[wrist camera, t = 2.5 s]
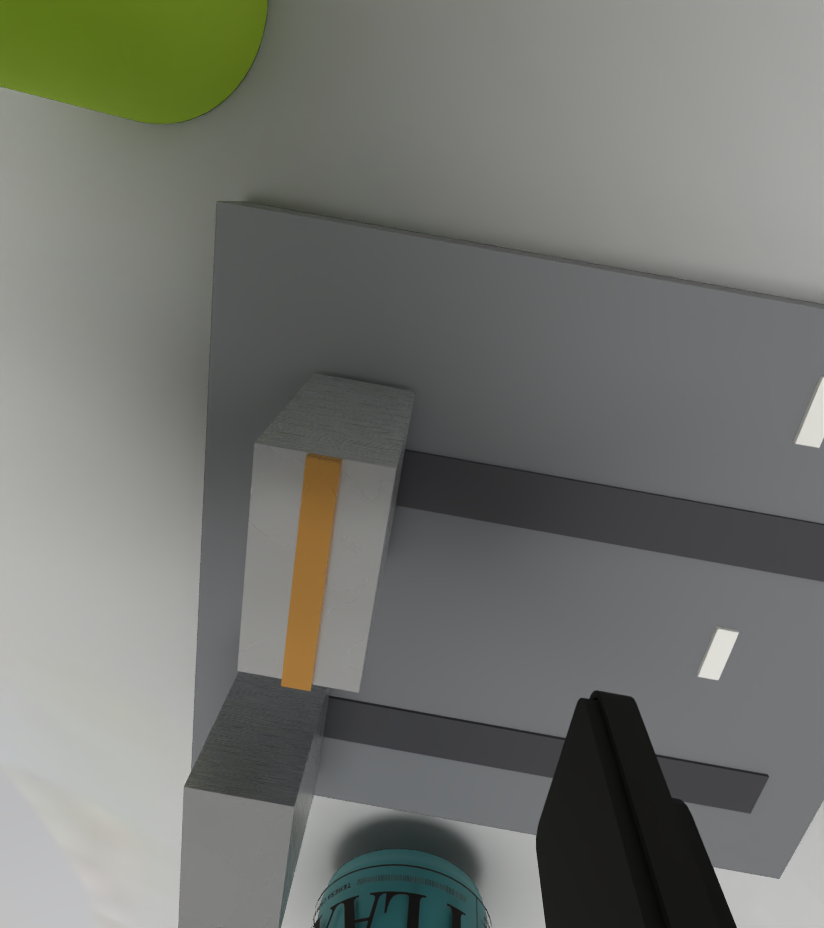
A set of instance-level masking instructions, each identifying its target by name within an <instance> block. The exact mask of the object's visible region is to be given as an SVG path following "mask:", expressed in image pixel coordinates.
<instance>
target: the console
mask: <svg viewBox="0 0 824 928" xmlns="http://www.w3.org/2000/svg"><path fill="white" fill-rule="evenodd" d="M314 373H317V374H322V375H328V376H333V377H339V378H345V379H350V380H356V381H361V382H367V383H373V384H378V385H384V386H389V387H395V388H401V389H406V390H412V391H415V395H414V401H413V406H412V412H411V418H410V424H409V430H408V436H407V441H406V447H405V453H404V459H403V465H402V471H401V476H400V482H399V488H398V494H397V500H396V506H395V511H394V517H393V523H392V529H391V535H390V541H389V546H388V552H387V558H386V564H385V569H384V574H383V579H382V583H381V588H380V593H379V598H378V603H377V607H376V612H375V617H374V622H373V627H372V631H371V636H370V641H369V646H368V651H367V655H366V660H365V665H364V670H363V675H362V679H361V684H360V689H359V693H357V692H352V691H346V690H341V689H335V688H330V695H329V702H328V709H327V715H326V722H325V729H324V736H323V743H322V750H321V756H320V763H319V770H318V777H317V784H316V788H315V792H314V795H317V796H322V797H328V798H333V799H339V800H345V801H350V802H356V803H361V804H367V805H372V806H378V807H383V808H389V809H394V810H400V811H406V812H411V813H417V814H422V815H428V816H433V817H439V818H444V819H450V820H455V821H461V822H467V823H472V824H478V825H483V826H489V827H494V828H500V829H505V830H511V831H516V832H522V833H528V834H533V835H537V828H538V824H539V820H540V817H541V814H542V811H543V808H544V804H545V801H546V798H547V795H548V792H549V789H550V786H551V783H552V779H553V776H554V773H555V770H556V767H557V764H558V761H559V757H560V754H561V751H562V748H563V745H564V742H565V739H566V736H567V732H568V729H569V726H570V723H571V720H572V717H573V714H574V710H575V707H576V704H577V702H578V700H579V699H580V698H587V699H589V698H590V696H591V694H592V693H593V691H596V690H598V691H604V692H609V693H615V694H620V695H626V696H631V697H632V698H634V700H635V701H636V703H637V706H638V708H639V711H640V714H641V717H642V719H643V722H644V725H645V727H646V730H647V733H648V735H649V738H650V741H651V743H652V746H653V749H654V751H655V754H656V757H657V759H658V762H659V765H660V767H661V770H662V773H663V775H664V778H665V781H666V783H667V786H668V789H669V791H670V794H671V797H672V798H676V799H681V800H682V801H683V802H684V803H685V804H686V805H687V806H688V808H689V810H690V812H691V814H692V816H693V819H694V821H695V824H696V826H697V829H698V831H699V834H700V836H701V839H702V841H703V844H704V846H705V849H706V851H707V854H708V856H709V859H710V861H711V864H712V866H713V867H716V868H722V869H727V870H733V871H738V872H744V873H749V874H755V875H760V876H766V877H772V878H777V879H779V878H780V877H781V875H782V873H783V871H784V870H785V868H786V866H787V864H788V862H789V861H790V859H791V857H792V855H793V854H794V852H795V850H796V848H797V846H798V845H799V843H800V841H801V839H802V838H803V836H804V834H805V832H806V830H807V829H808V827H809V825H810V823H811V822H812V820H813V818H814V816H815V814H816V813H817V811H818V809H819V807H820V806H821V804H822V802H823V800H824V305H823V304H818V303H812V302H807V301H801V300H795V299H790V298H784V297H778V296H773V295H767V294H761V293H756V292H750V291H745V290H739V289H733V288H728V287H722V286H716V285H711V284H705V283H699V282H694V281H688V280H683V279H677V278H671V277H666V276H660V275H654V274H649V273H643V272H638V271H632V270H626V269H621V268H615V267H609V266H604V265H598V264H592V263H587V262H581V261H576V260H570V259H564V258H559V257H553V256H547V255H542V254H536V253H530V252H525V251H519V250H514V249H508V248H502V247H497V246H491V245H485V244H480V243H474V242H468V241H463V240H457V239H452V238H446V237H440V236H435V235H429V234H423V233H418V232H412V231H406V230H401V229H395V228H390V227H384V226H378V225H373V224H367V223H361V222H356V221H350V220H344V219H339V218H333V217H328V216H322V215H316V214H311V213H305V212H299V211H294V210H288V209H282V208H277V207H271V206H266V205H260V204H254V203H249V202H233V201H217V204H216V226H215V248H214V271H213V293H212V316H211V338H210V361H209V383H208V406H207V428H206V451H205V473H204V495H203V518H202V540H201V563H200V585H199V608H198V630H197V653H196V675H195V698H194V720H193V743H192V765H191V771H192V769H193V767H194V765H195V763H196V760H197V758H198V756H199V754H200V752H201V750H202V748H203V746H204V744H205V741H206V739H207V737H208V735H209V733H210V731H211V729H212V727H213V725H214V722H215V720H216V718H217V716H218V714H219V712H220V710H221V708H222V706H223V703H224V701H225V699H226V697H227V695H228V693H229V691H230V689H231V687H232V685H233V682H234V680H235V678H236V676H237V674H238V672H239V671H237V669H238V655H239V642H240V629H241V615H242V602H243V589H244V576H245V562H246V549H247V536H248V522H249V509H250V496H251V483H252V469H253V456H254V443H255V442H256V441H257V440H258V438H259V437H260V436H261V435H262V434H263V433H264V431H265V430H266V429H267V428H268V427H269V426H270V424H271V423H272V422H273V421H274V420H275V419H276V417H277V416H278V415H279V414H280V413H281V412H282V410H283V409H284V408H285V407H286V406H287V405H288V403H289V402H290V401H291V400H292V399H293V398H294V397H295V395H296V394H297V393H298V392H299V391H300V390H301V388H302V387H303V386H304V385H305V384H306V383H307V381H308V380H309V379H310V378H311V377H312V376H313V374H314Z"/></svg>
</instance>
